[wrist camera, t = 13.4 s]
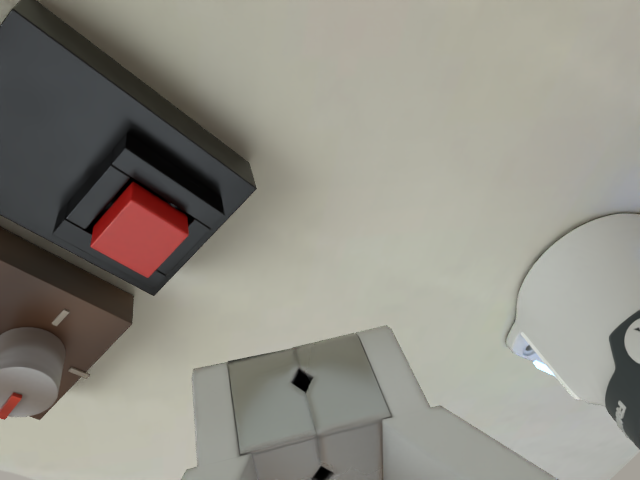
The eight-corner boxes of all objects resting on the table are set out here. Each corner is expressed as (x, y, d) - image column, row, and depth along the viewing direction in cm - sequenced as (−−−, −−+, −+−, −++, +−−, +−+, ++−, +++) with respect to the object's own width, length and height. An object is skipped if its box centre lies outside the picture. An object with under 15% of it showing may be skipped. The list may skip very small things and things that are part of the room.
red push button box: (249, 163, 36) (262, 205, 32) (154, 264, 39) (153, 317, 35) (26, -8, 28) (2, 18, 24) (-75, 135, 31) (-114, 182, 26)
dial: (11, 317, 35) (-3, 361, 32) (78, 342, 37) (71, 385, 34) (-22, 362, 36) (-38, 408, 33) (45, 383, 39) (35, 429, 36)
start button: (187, 215, 32) (189, 235, 30) (148, 257, 33) (148, 279, 31) (133, 180, 30) (131, 199, 28) (93, 226, 31) (89, 247, 29)
